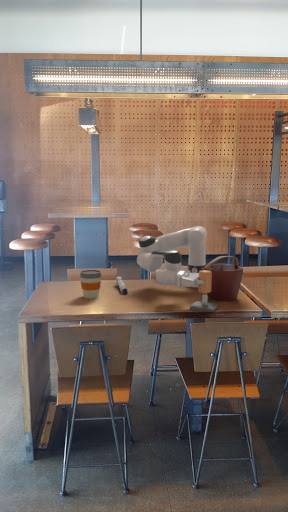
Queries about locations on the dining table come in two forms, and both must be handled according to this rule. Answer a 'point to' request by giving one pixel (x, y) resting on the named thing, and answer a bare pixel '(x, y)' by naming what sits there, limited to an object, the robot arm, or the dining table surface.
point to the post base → (206, 308)
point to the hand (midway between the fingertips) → (206, 280)
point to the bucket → (224, 279)
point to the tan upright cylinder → (207, 277)
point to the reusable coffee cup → (90, 283)
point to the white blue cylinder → (121, 285)
